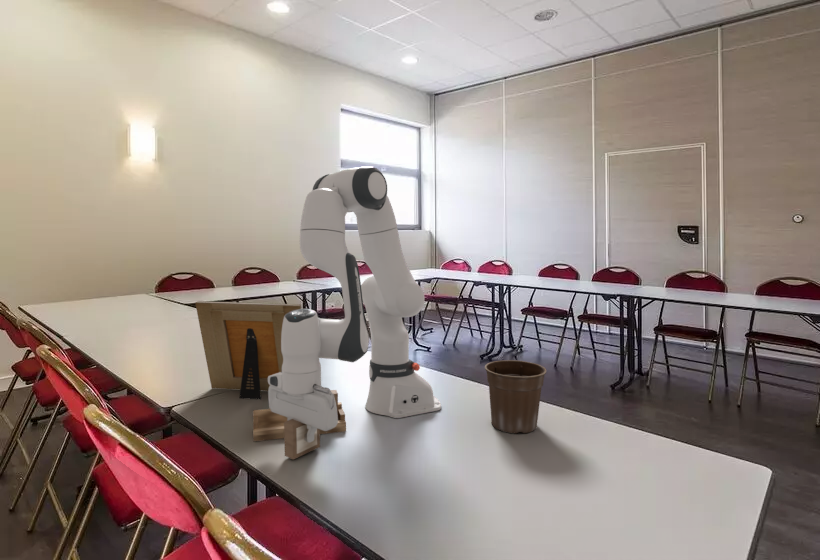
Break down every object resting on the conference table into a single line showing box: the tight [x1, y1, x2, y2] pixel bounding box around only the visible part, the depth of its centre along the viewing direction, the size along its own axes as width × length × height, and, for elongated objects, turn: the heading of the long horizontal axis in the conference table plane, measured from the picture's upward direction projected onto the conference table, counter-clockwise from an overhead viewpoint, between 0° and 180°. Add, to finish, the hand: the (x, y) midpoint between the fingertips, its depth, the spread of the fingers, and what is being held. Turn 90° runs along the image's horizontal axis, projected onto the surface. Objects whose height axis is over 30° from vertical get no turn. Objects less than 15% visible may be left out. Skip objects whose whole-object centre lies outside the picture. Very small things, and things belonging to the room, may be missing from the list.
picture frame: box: [194, 300, 303, 400], centre depth 151 cm, size 33×10×30 cm, turn 84°
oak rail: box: [252, 401, 347, 442], centre depth 126 cm, size 23×8×5 cm, turn 108°
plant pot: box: [484, 359, 547, 434], centre depth 131 cm, size 16×16×16 cm
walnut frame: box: [283, 419, 321, 460], centre depth 112 cm, size 8×3×8 cm, turn 143°
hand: (302, 438), depth 112 cm, fingers closed on walnut frame, 3 cm apart
